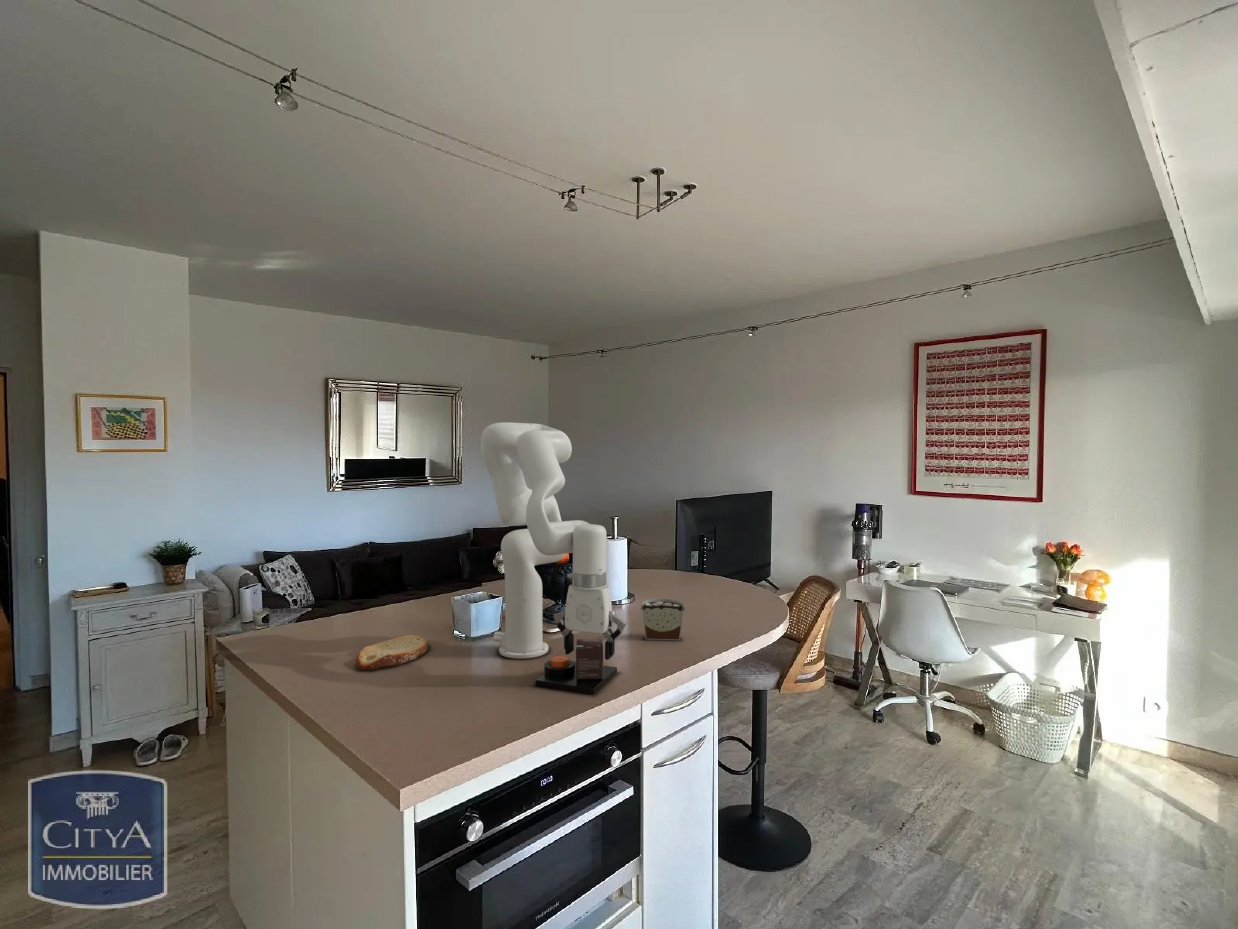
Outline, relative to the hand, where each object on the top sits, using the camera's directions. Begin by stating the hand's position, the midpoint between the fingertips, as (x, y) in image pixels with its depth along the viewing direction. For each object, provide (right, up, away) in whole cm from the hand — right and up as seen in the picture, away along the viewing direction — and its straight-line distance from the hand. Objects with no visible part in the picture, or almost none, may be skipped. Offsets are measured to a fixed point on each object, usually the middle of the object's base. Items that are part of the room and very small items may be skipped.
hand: (589, 655), depth 141 cm
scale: (-3, -6, +1) cm, 7 cm away
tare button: (-7, -3, +3) cm, 8 cm away
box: (0, -5, 0) cm, 5 cm away
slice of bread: (-50, -6, +17) cm, 53 cm away
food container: (+19, -5, +33) cm, 39 cm away
